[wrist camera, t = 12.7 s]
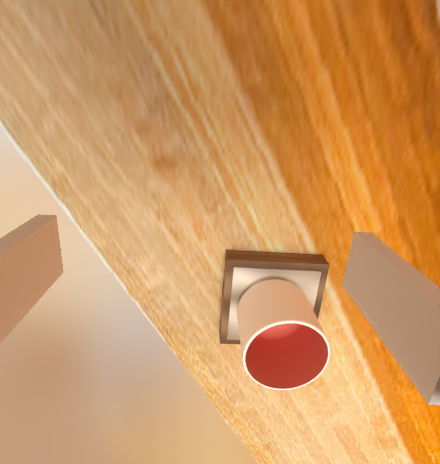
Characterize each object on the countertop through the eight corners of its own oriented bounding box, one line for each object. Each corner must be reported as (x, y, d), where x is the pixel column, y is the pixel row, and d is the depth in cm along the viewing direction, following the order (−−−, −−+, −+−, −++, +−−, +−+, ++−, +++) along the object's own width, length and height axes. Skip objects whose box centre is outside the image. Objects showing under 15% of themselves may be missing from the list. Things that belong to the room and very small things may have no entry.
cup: (294, 339, 48) (314, 396, 39) (229, 328, 47) (233, 383, 38) (316, 282, 45) (343, 329, 35) (246, 269, 44) (255, 313, 34)
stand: (225, 250, 46) (226, 260, 43) (322, 255, 47) (330, 265, 44) (219, 330, 51) (219, 344, 48) (306, 333, 52) (312, 348, 49)
